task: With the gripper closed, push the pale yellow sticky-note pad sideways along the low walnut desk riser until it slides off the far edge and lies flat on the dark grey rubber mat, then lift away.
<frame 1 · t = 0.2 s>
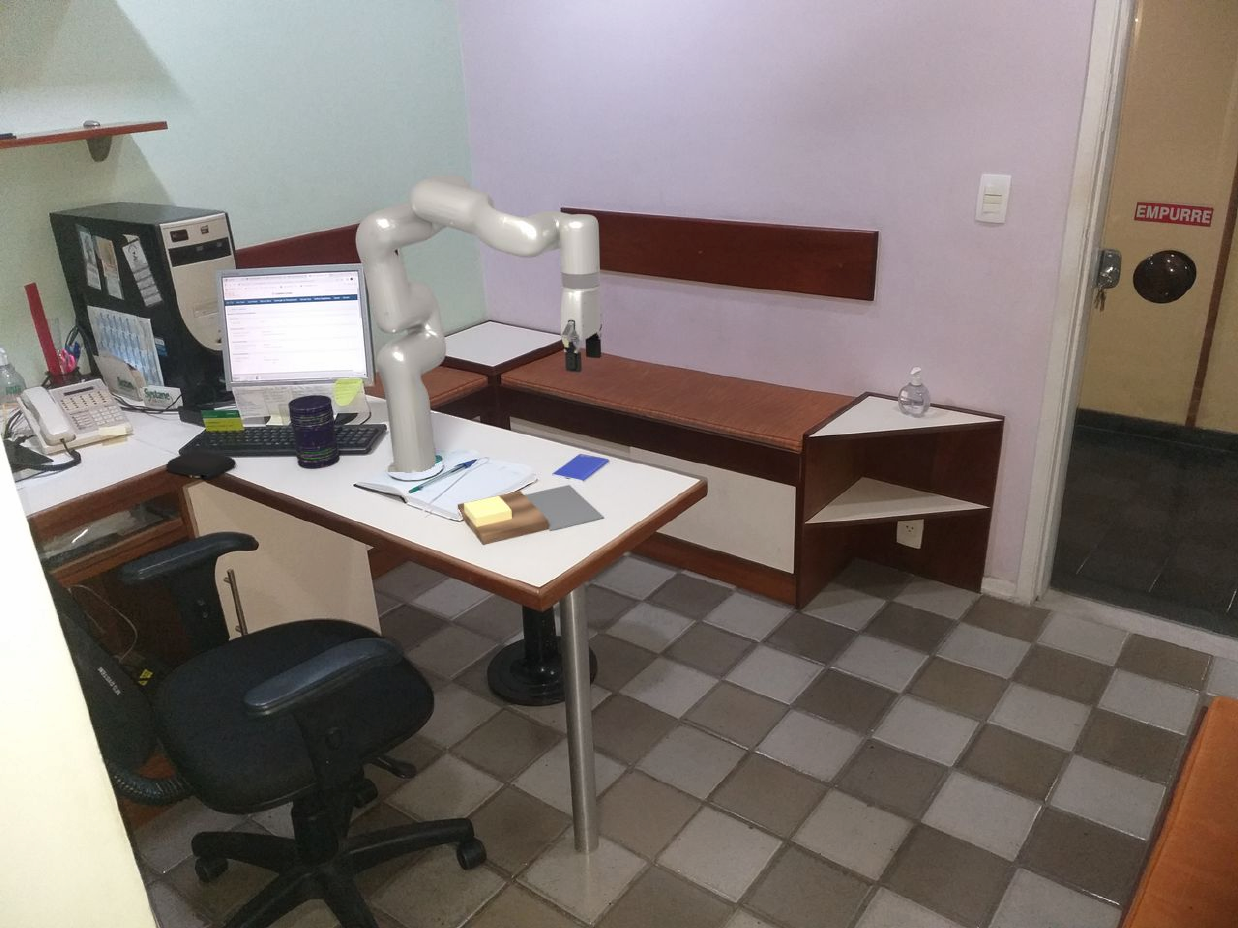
hand: (583, 364, 195), 31 cm above the table, tool pointing down, fingers open, 9 cm apart
riser: (502, 520, 200), on the table
carrying case or bag: (200, 472, 228), on the table
storage jar: (319, 461, 232), on the table
hard drive: (581, 472, 224), on the table
sticky pad: (488, 515, 198), point 2 cm above the table, touching riser
mat: (560, 507, 206), on the table
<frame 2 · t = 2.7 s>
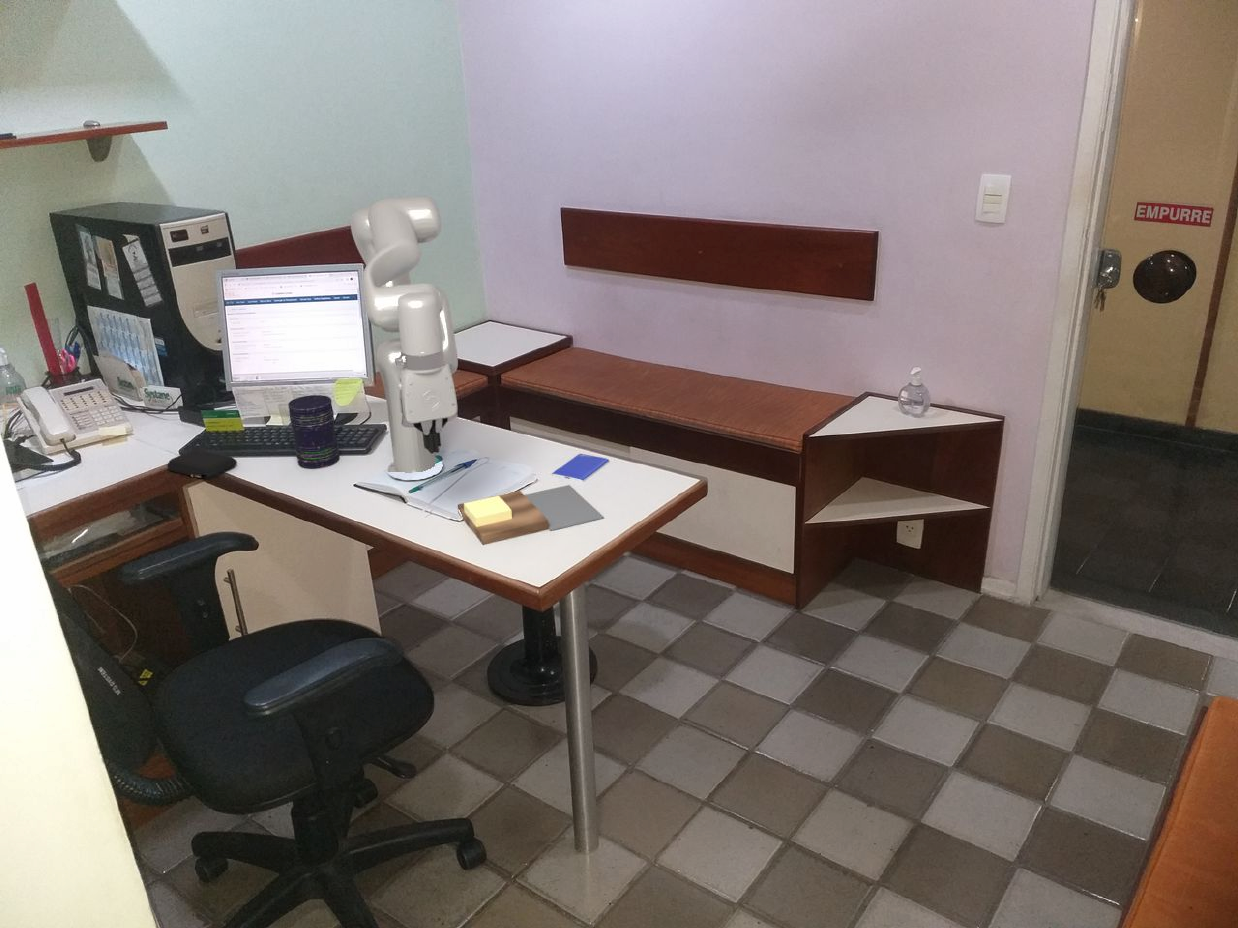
hand: (433, 450, 188), 19 cm above the table, tool pointing down, fingers closed
nothing on the table moved.
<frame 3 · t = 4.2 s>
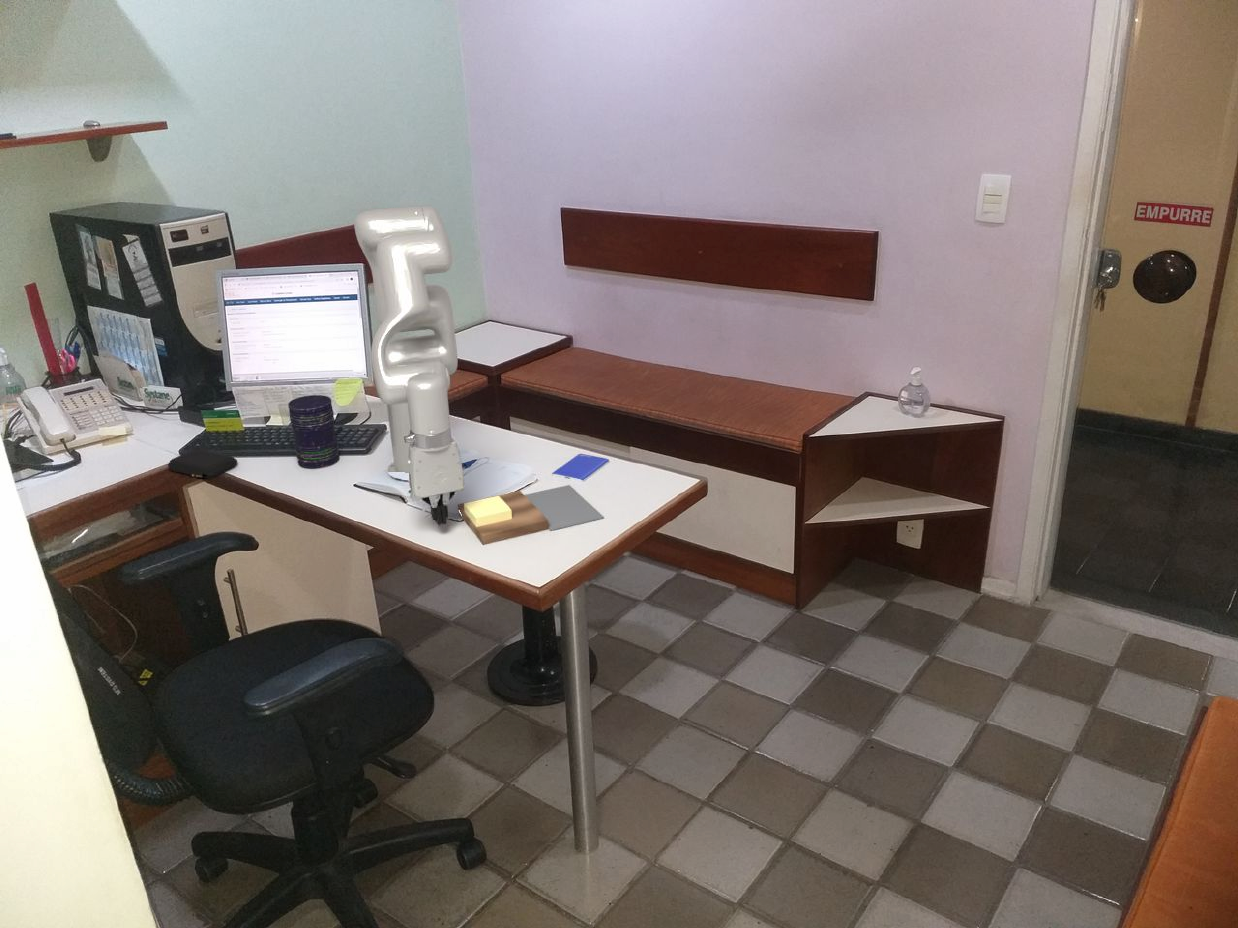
hand: (440, 521, 194), 3 cm above the table, tool pointing down, fingers closed
nothing on the table moved.
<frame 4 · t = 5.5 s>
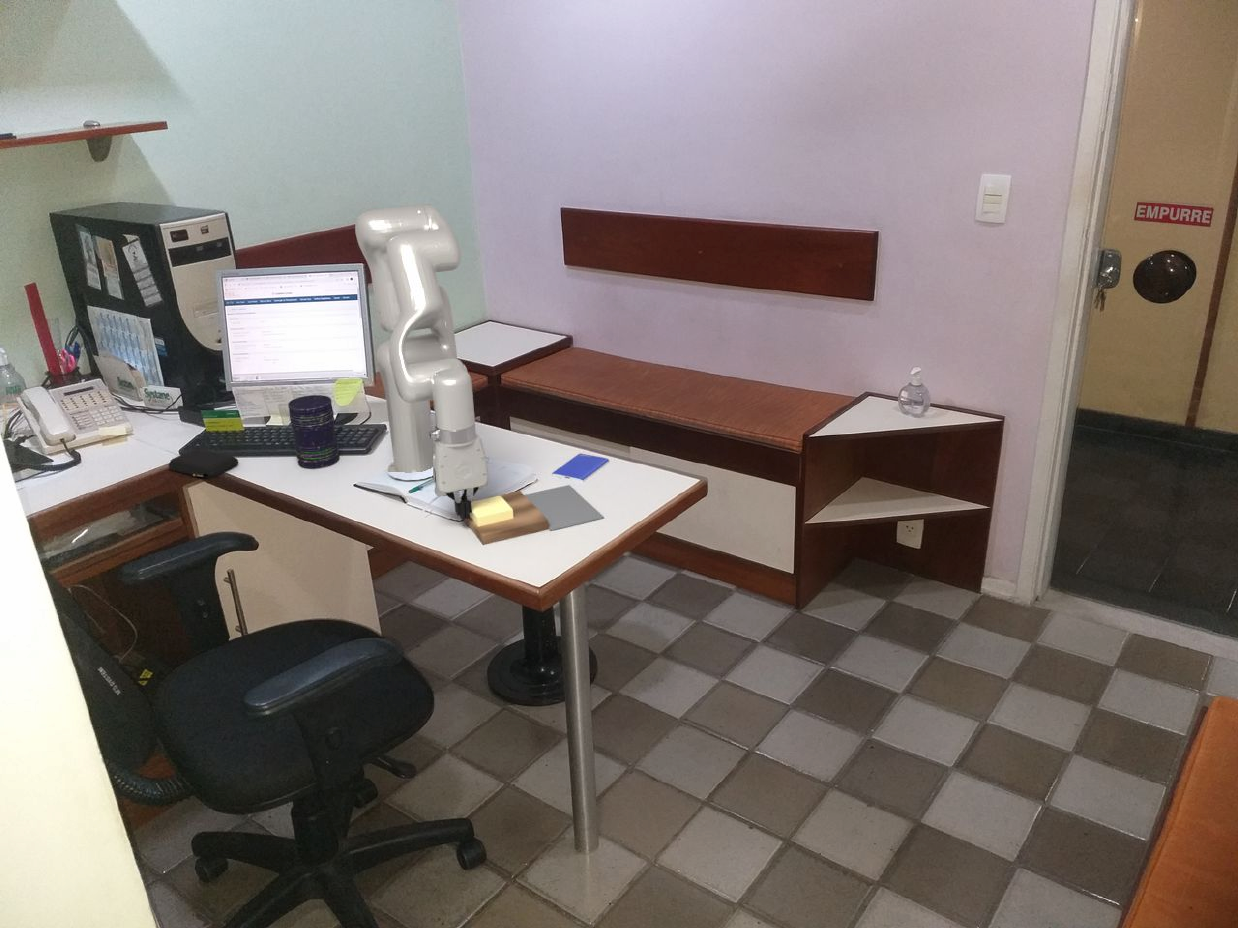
hand: (464, 516, 196), 3 cm above the table, tool pointing down, fingers closed
sticky pad: (489, 515, 199), point 2 cm above the table, touching gripper
everything else where it was.
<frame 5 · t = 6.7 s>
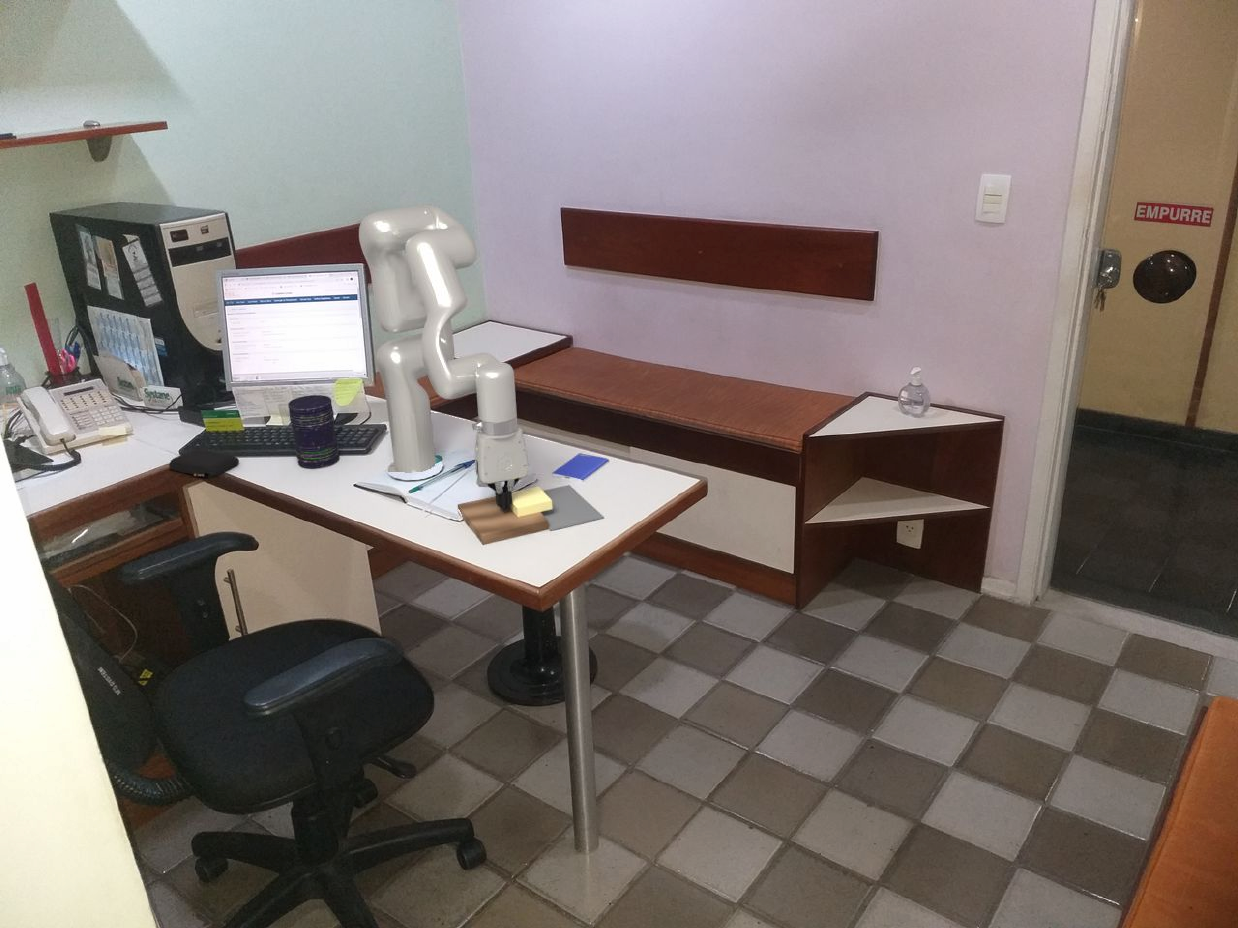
hand: (504, 507, 199), 3 cm above the table, tool pointing down, fingers closed
sticky pad: (528, 505, 202), point 2 cm above the table, touching gripper, riser
everything else where it was.
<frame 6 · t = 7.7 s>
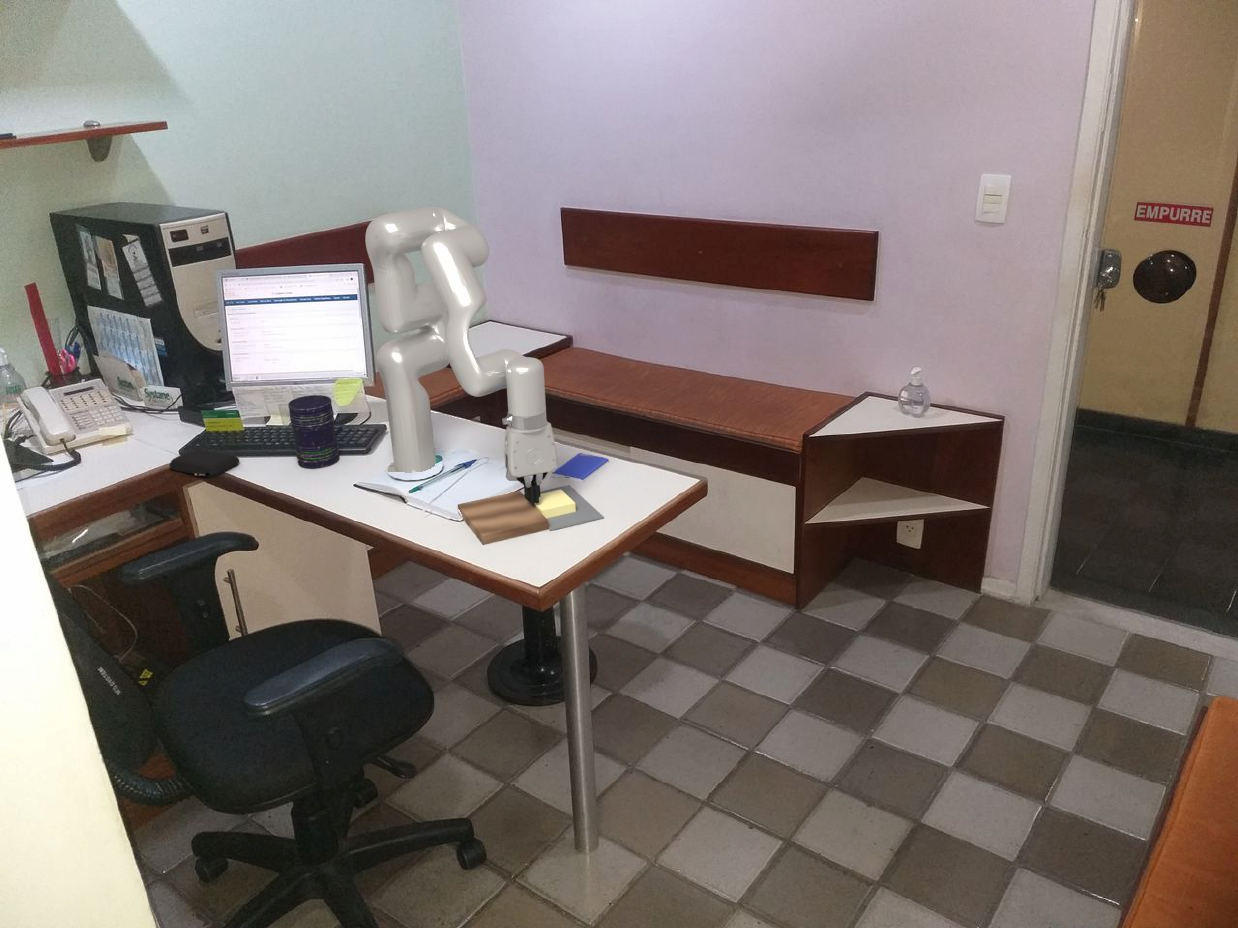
hand: (532, 501, 202), 3 cm above the table, tool pointing down, fingers closed
sticky pad: (552, 508, 205), resting on mat
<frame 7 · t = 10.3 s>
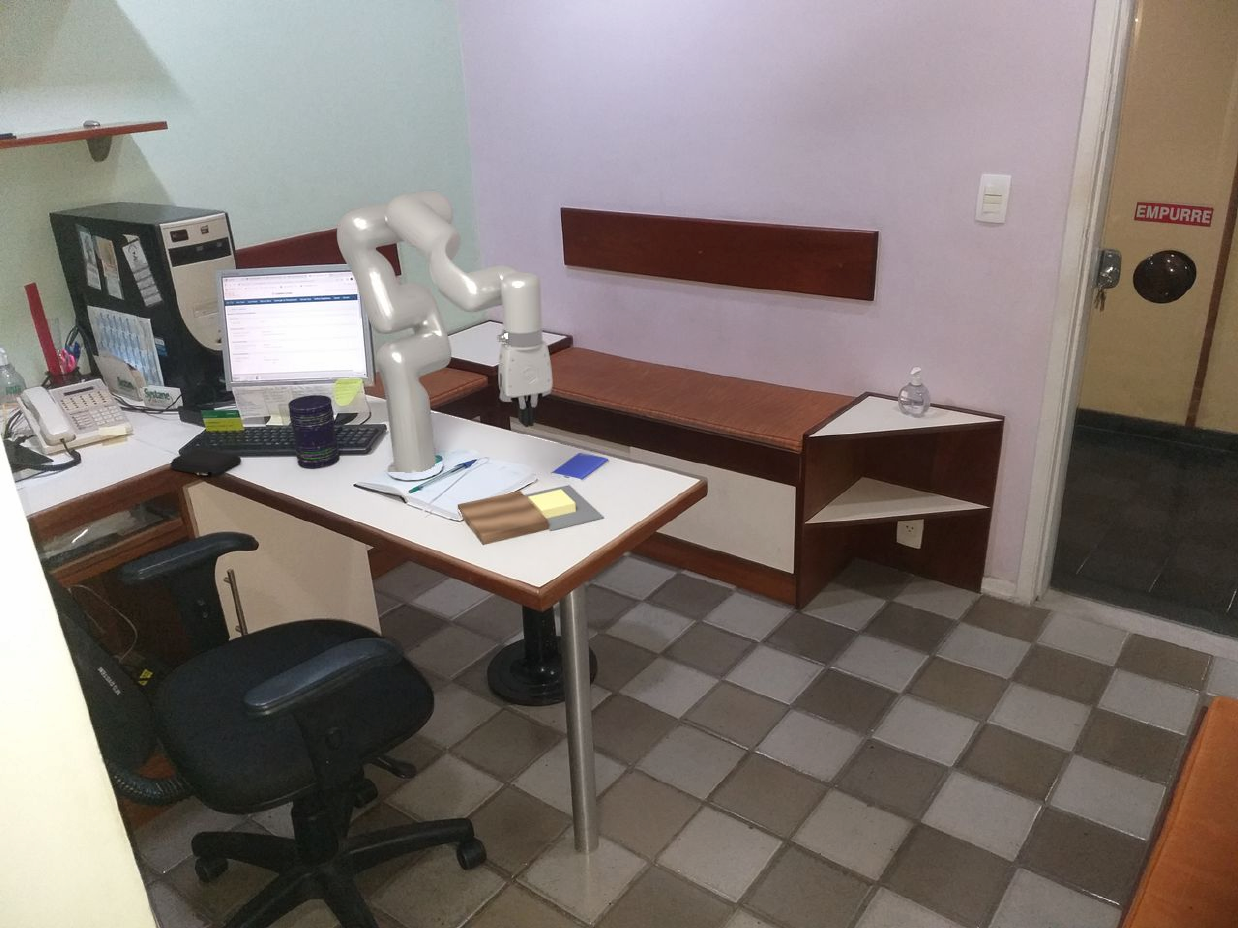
hand: (526, 424, 197), 20 cm above the table, tool pointing down, fingers closed
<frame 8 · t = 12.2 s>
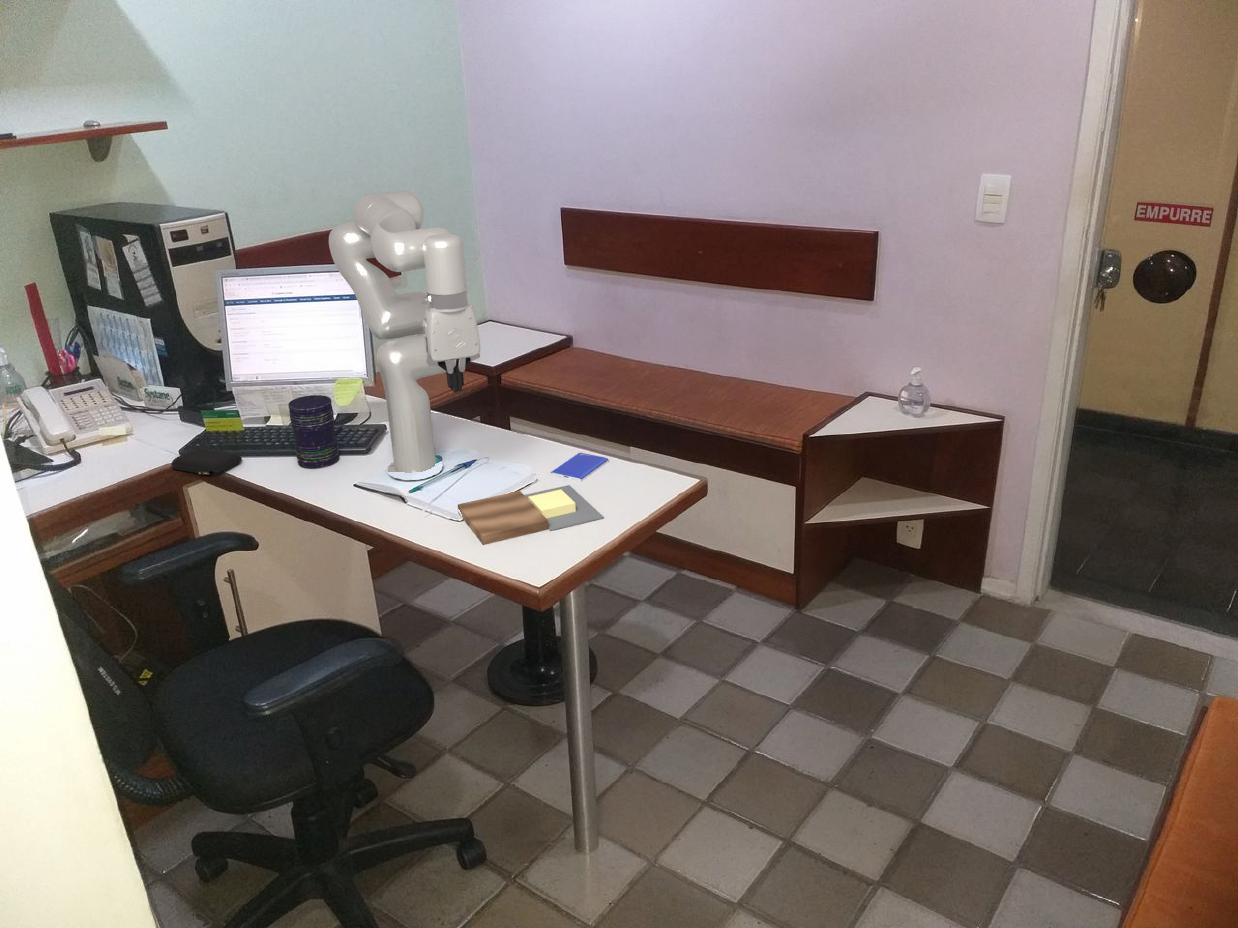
hand: (456, 389, 194), 27 cm above the table, tool pointing down, fingers closed
at the end: sticky pad inside the target area (2.4 cm from its centre), resting on mat; the gripper is holding nothing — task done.
